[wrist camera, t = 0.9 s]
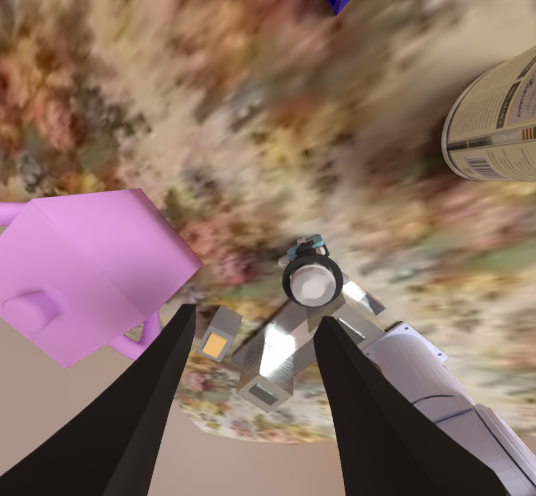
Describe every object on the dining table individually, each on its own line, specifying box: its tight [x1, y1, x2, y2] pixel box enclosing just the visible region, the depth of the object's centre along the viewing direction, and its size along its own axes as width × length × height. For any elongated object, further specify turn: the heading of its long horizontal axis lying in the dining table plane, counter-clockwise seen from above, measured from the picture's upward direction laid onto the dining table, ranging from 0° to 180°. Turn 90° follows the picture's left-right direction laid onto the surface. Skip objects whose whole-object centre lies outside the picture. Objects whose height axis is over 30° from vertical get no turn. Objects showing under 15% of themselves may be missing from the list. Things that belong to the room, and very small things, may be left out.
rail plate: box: [231, 267, 386, 413], centre depth 28 cm, size 10×24×6 cm, turn 143°
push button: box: [278, 234, 343, 308], centre depth 21 cm, size 7×5×10 cm
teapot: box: [0, 188, 203, 368], centre depth 23 cm, size 15×25×14 cm, turn 35°
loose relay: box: [196, 305, 243, 363], centre depth 30 cm, size 4×6×5 cm, turn 153°
